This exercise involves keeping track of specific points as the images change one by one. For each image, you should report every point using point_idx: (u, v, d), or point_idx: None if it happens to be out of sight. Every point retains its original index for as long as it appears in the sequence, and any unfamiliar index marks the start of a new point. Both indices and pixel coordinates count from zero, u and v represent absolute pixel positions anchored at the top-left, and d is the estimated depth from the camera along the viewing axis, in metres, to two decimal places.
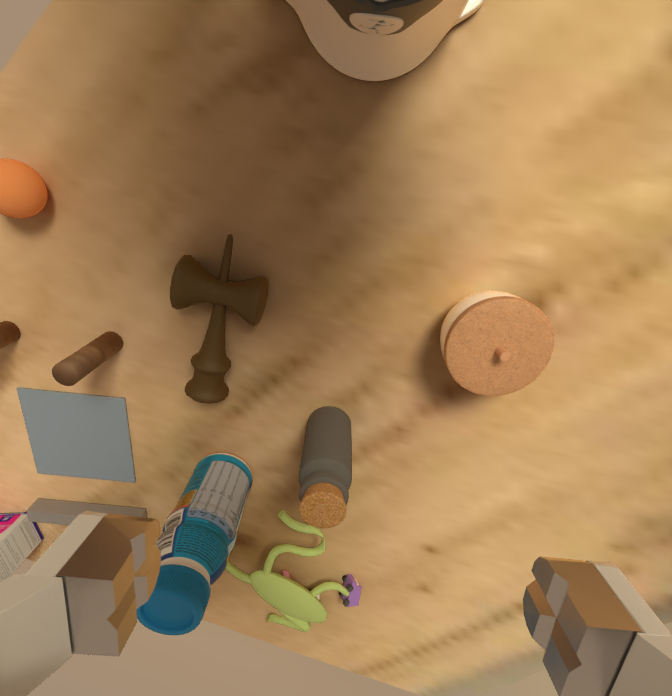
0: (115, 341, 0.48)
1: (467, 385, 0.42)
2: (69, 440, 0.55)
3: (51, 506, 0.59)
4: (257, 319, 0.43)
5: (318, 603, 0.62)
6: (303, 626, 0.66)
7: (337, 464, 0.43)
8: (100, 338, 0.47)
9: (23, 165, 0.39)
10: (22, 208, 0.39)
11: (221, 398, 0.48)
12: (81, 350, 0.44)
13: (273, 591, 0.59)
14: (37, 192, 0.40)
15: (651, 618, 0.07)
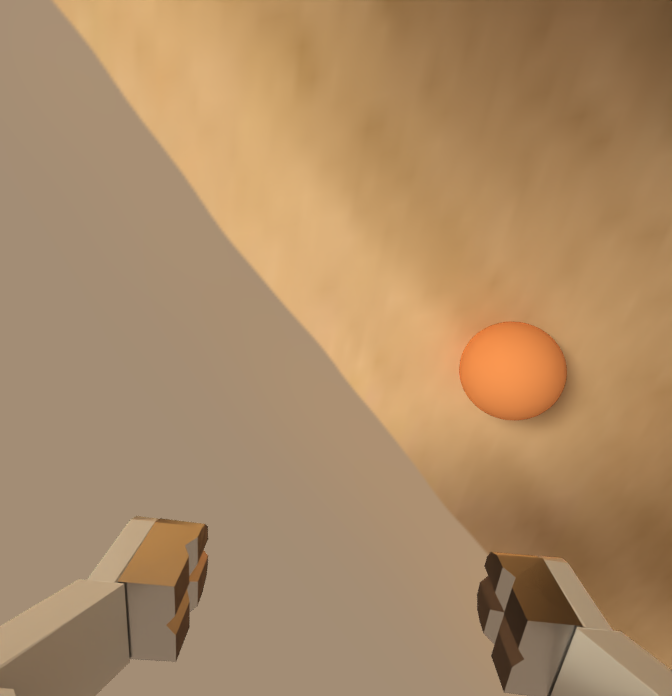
0: None
1: None
2: None
3: None
4: None
5: None
6: None
7: None
8: None
9: (475, 341, 0.22)
10: (560, 354, 0.21)
11: None
12: None
13: None
14: (527, 327, 0.21)
15: (593, 612, 0.07)
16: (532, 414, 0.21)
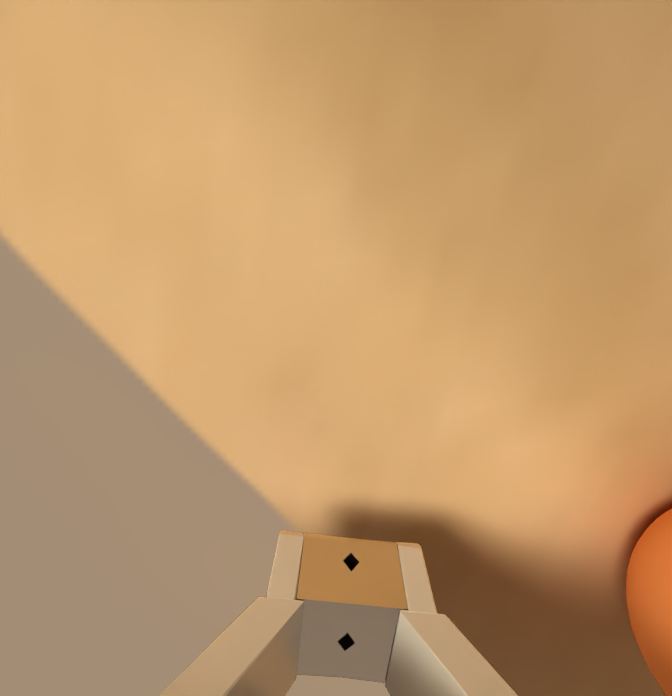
0: None
1: None
2: None
3: None
4: None
5: None
6: None
7: None
8: None
9: None
10: None
11: None
12: None
13: None
14: None
15: (424, 596, 0.07)
16: None
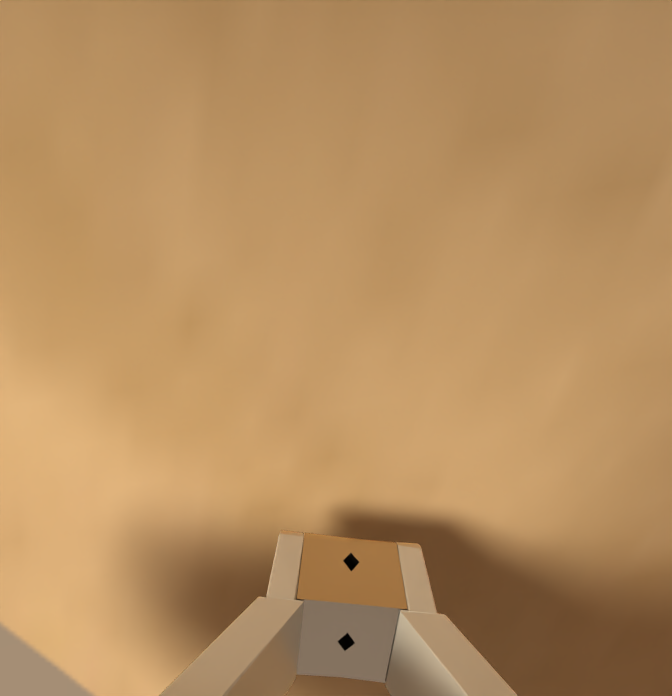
0: None
1: None
2: None
3: None
4: None
5: None
6: None
7: None
8: None
9: None
10: None
11: None
12: None
13: None
14: None
15: (424, 596, 0.07)
16: None
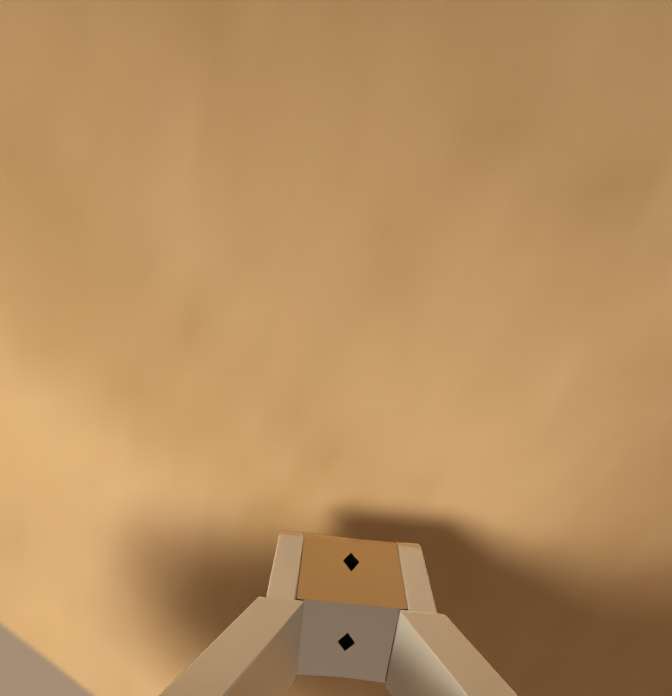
0: None
1: None
2: None
3: None
4: None
5: None
6: None
7: None
8: None
9: None
10: None
11: None
12: None
13: None
14: None
15: (424, 596, 0.07)
16: None
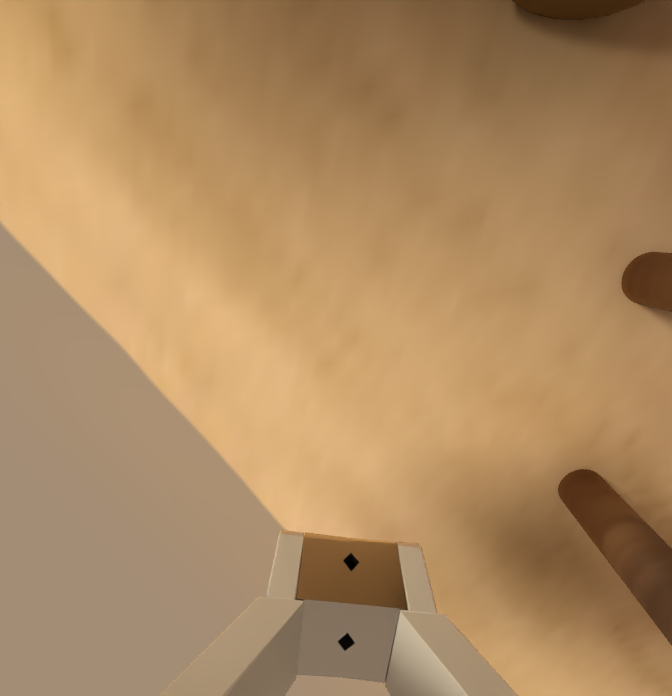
0: (660, 256, 0.19)
1: None
2: None
3: None
4: None
5: None
6: None
7: None
8: (655, 279, 0.18)
9: None
10: None
11: None
12: None
13: None
14: None
15: (424, 596, 0.07)
16: None
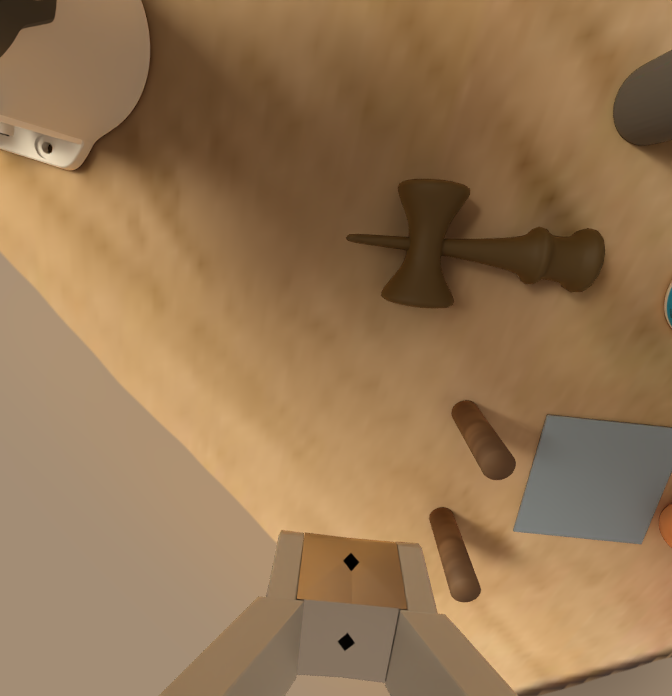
0: (464, 407, 0.38)
1: None
2: (598, 495, 0.42)
3: None
4: (458, 183, 0.29)
5: None
6: None
7: None
8: (458, 422, 0.37)
9: None
10: None
11: (596, 234, 0.31)
12: (469, 442, 0.34)
13: None
14: None
15: (424, 596, 0.07)
16: None
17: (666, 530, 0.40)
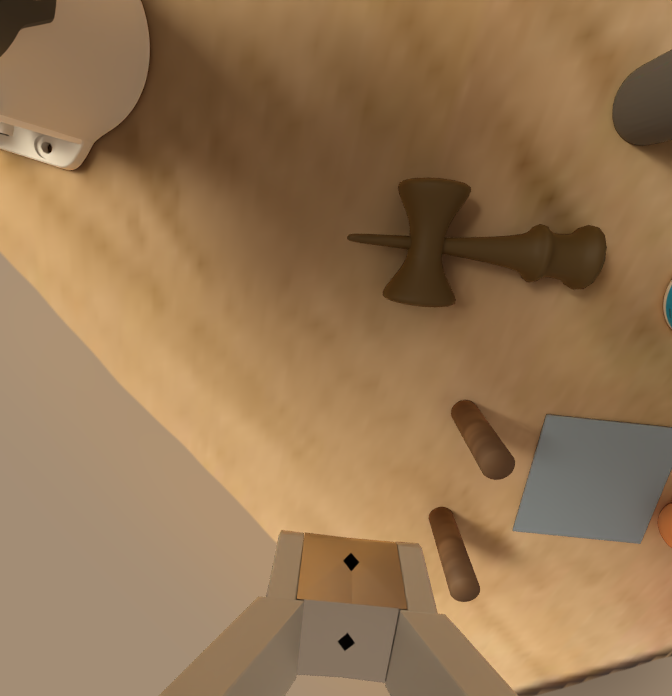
0: (463, 406, 0.38)
1: None
2: (597, 495, 0.42)
3: None
4: (459, 182, 0.29)
5: None
6: None
7: None
8: (458, 421, 0.37)
9: None
10: None
11: (597, 231, 0.31)
12: (468, 442, 0.34)
13: None
14: None
15: (424, 596, 0.07)
16: None
17: (664, 530, 0.40)
